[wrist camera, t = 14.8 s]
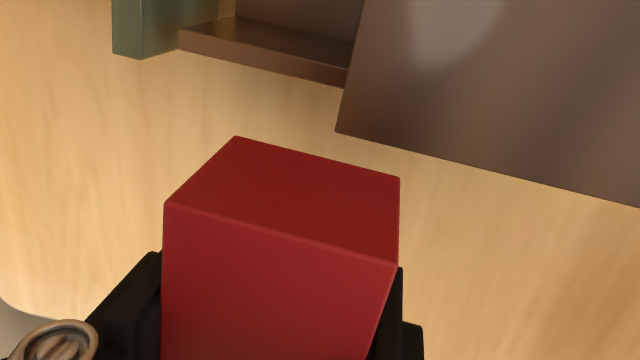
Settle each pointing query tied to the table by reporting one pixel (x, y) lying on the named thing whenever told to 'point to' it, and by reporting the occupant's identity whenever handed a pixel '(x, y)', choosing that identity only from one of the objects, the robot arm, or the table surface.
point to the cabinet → (504, 88)
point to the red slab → (276, 257)
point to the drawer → (245, 33)
